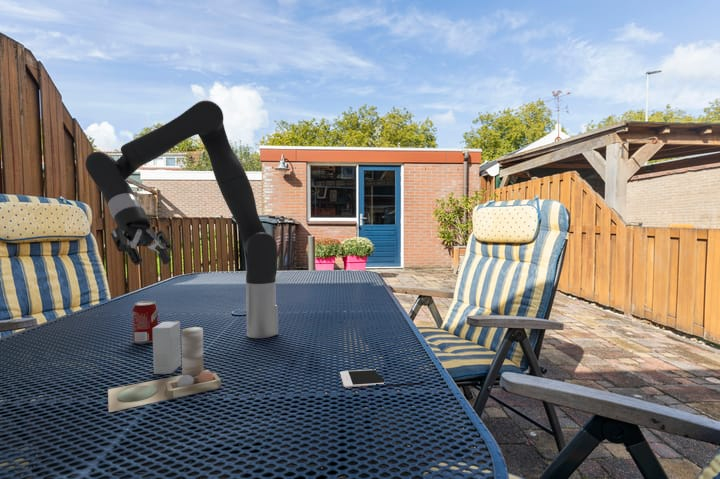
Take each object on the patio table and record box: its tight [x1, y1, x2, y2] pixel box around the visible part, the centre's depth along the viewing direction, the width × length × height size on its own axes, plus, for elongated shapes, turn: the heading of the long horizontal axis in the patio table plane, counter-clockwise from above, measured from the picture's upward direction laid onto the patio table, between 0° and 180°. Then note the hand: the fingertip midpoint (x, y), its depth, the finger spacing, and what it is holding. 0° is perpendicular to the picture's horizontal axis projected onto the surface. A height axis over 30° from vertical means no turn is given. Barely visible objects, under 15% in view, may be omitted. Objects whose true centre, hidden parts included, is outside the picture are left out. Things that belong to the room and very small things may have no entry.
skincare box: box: [152, 321, 182, 375], centre depth 93 cm, size 6×4×12 cm
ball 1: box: [177, 375, 194, 387], centre depth 81 cm, size 3×3×3 cm
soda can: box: [131, 300, 159, 345], centre depth 119 cm, size 7×7×12 cm
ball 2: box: [198, 370, 214, 383], centre depth 83 cm, size 3×3×3 cm
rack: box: [107, 326, 222, 413], centre depth 82 cm, size 20×12×12 cm, turn 123°
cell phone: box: [339, 368, 385, 389], centre depth 91 cm, size 9×18×1 cm, turn 99°
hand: (154, 263), depth 101 cm, fingers open, 8 cm apart
